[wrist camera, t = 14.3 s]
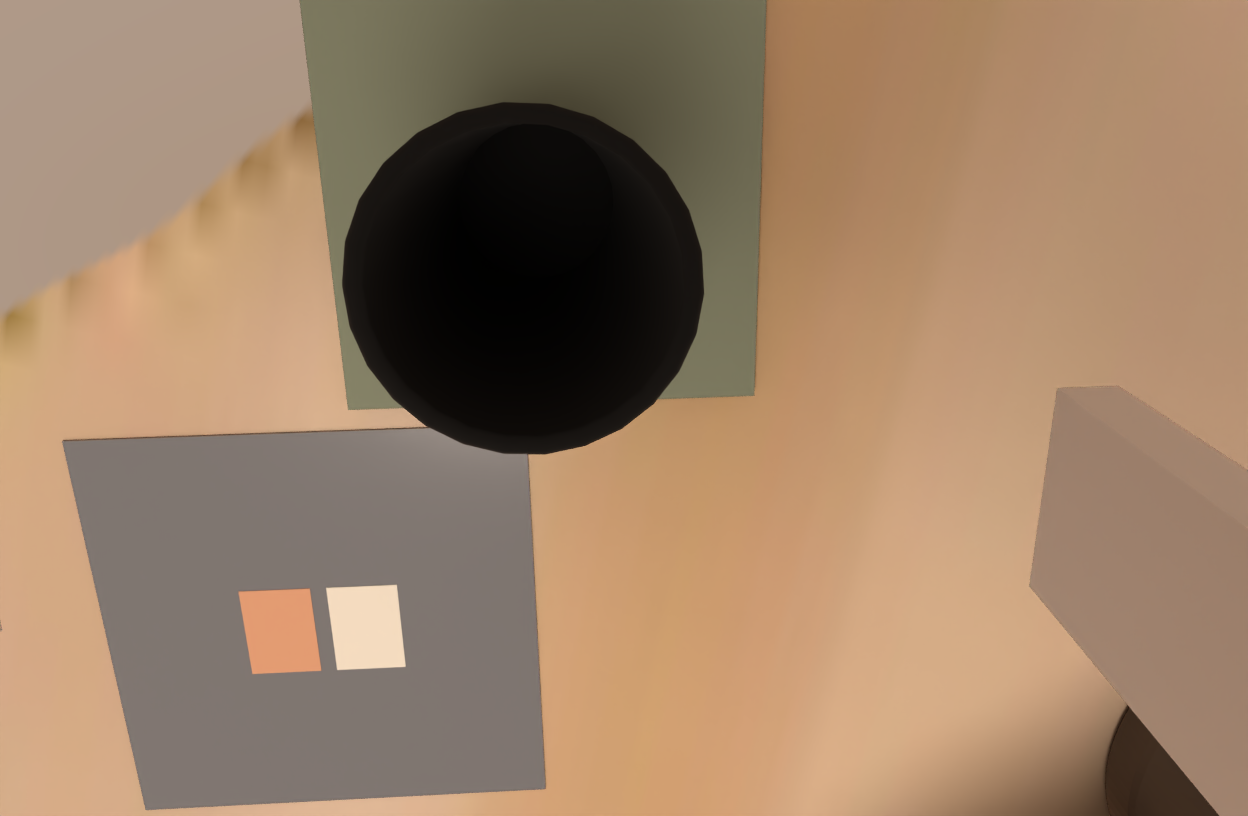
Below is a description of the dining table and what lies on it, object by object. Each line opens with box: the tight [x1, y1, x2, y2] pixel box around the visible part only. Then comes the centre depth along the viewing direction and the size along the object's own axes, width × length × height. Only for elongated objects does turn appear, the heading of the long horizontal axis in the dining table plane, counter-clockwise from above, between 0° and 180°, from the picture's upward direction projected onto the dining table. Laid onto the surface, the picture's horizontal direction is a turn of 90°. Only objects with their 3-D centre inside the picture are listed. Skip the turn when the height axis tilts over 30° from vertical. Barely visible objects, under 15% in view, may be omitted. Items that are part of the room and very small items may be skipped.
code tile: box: [62, 427, 546, 810], centre depth 39 cm, size 16×16×1 cm
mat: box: [300, 0, 766, 410], centre depth 33 cm, size 14×14×1 cm
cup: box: [342, 102, 704, 454], centre depth 27 cm, size 8×8×12 cm
